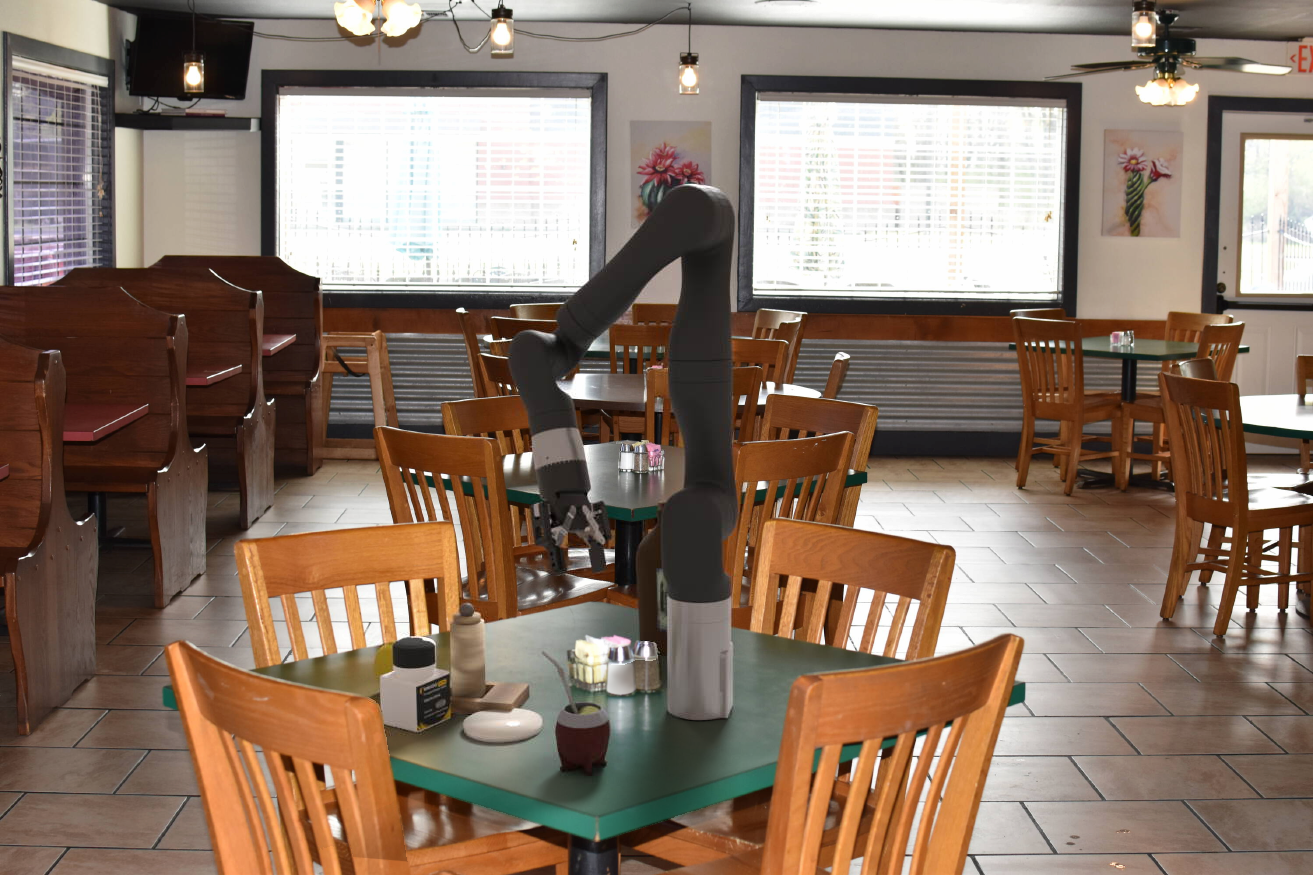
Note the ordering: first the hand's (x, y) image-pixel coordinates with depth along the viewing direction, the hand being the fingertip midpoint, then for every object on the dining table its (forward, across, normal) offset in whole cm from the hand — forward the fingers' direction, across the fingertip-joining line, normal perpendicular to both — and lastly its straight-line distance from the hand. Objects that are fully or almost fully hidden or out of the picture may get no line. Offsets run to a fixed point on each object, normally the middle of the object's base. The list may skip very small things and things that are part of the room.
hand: (580, 573), depth 189 cm
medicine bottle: (+16, -14, +23) cm, 32 cm away
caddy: (+15, -4, +21) cm, 26 cm away
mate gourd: (+26, -13, -5) cm, 30 cm away
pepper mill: (+15, -5, +22) cm, 27 cm away
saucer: (+19, -9, +12) cm, 24 cm away
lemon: (+11, -8, +34) cm, 37 cm away
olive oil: (+12, +35, +14) cm, 40 cm away
